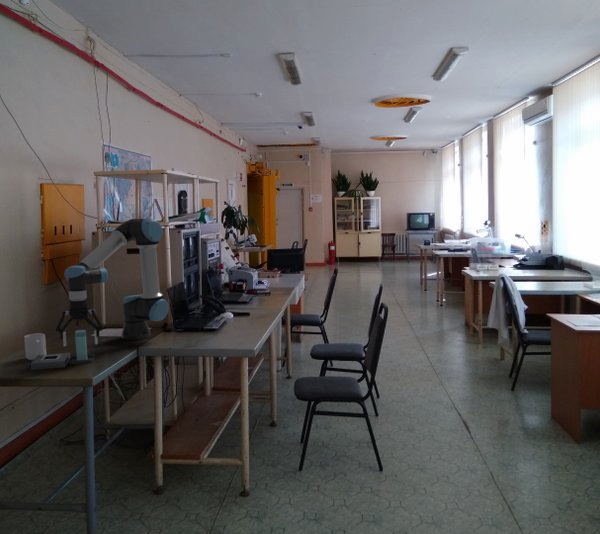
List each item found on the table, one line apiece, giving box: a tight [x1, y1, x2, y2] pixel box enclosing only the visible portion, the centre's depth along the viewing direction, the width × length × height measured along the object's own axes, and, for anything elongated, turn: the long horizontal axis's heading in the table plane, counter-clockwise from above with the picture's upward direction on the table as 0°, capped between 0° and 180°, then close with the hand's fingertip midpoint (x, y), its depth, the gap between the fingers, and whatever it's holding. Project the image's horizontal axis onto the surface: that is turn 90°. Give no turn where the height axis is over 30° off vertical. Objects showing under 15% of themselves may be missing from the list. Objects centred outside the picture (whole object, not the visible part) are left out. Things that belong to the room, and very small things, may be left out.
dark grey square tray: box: [68, 353, 96, 365], centre depth 255 cm, size 10×10×2 cm
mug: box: [23, 332, 47, 361], centre depth 261 cm, size 12×9×11 cm
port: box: [30, 352, 71, 371], centre depth 250 cm, size 14×14×4 cm
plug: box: [74, 329, 88, 360], centre depth 254 cm, size 4×4×14 cm
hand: (80, 344), depth 254 cm, fingers open, 13 cm apart
